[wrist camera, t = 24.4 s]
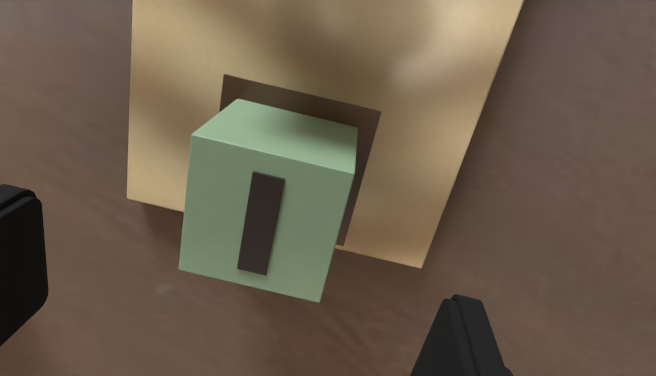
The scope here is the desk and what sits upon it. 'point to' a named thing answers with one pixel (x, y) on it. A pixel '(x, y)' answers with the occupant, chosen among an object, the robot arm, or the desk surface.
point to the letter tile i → (266, 198)
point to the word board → (323, 95)
